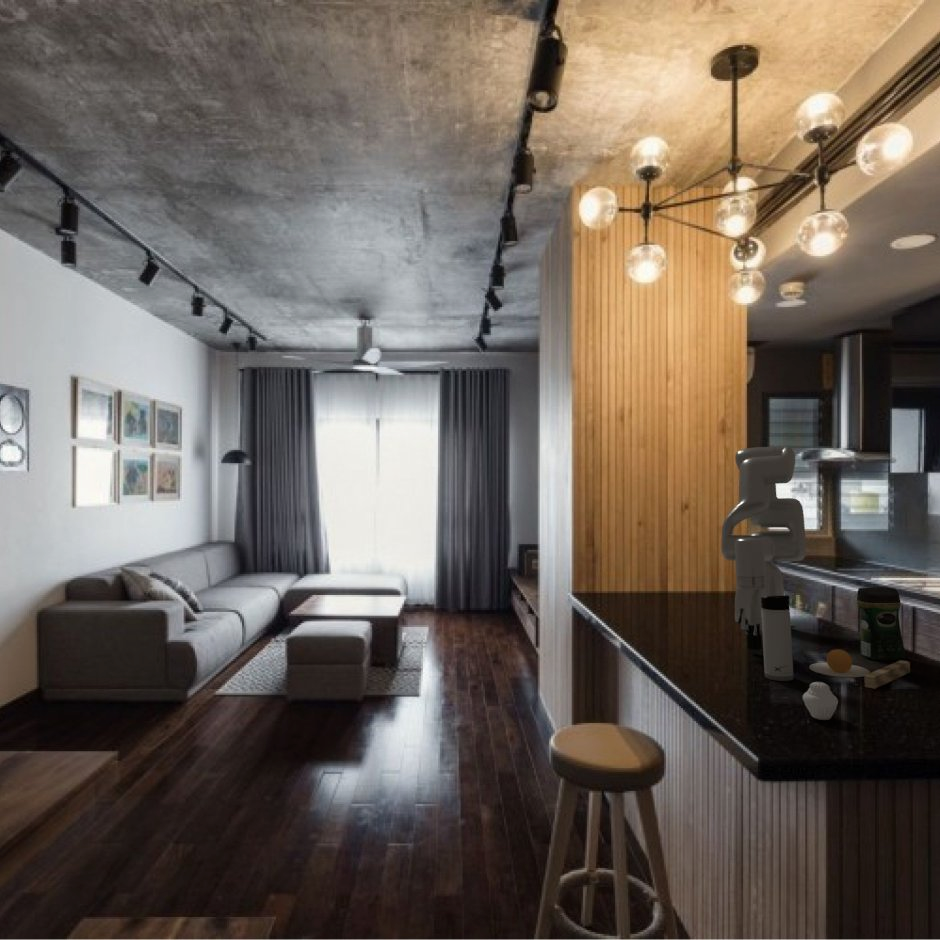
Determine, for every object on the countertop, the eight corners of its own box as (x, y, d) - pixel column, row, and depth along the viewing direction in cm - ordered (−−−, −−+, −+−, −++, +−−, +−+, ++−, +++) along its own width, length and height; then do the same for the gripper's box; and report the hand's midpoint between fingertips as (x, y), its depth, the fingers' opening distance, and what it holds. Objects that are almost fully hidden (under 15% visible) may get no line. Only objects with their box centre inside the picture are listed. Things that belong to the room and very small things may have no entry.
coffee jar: (893, 654, 171) (889, 584, 172) (910, 661, 164) (905, 589, 164) (855, 654, 173) (851, 585, 173) (870, 661, 165) (865, 589, 166)
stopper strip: (901, 670, 156) (900, 660, 156) (910, 672, 154) (909, 661, 154) (864, 686, 144) (864, 675, 144) (874, 688, 142) (873, 677, 142)
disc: (824, 660, 167) (824, 659, 167) (879, 670, 156) (879, 669, 156) (799, 669, 159) (799, 668, 159) (855, 680, 149) (855, 679, 149)
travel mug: (783, 683, 148) (778, 597, 149) (759, 676, 154) (754, 594, 155) (800, 679, 151) (796, 594, 152) (776, 672, 157) (771, 591, 158)
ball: (852, 646, 156) (860, 669, 154) (832, 648, 160) (839, 671, 159) (839, 650, 153) (846, 673, 152) (818, 652, 158) (825, 674, 156)
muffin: (811, 710, 130) (809, 675, 130) (843, 717, 125) (841, 681, 126) (798, 717, 126) (796, 681, 126) (832, 725, 121) (829, 688, 122)
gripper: (753, 578, 184) (756, 642, 183) (723, 583, 175) (726, 651, 174) (778, 580, 178) (782, 646, 177) (749, 586, 169) (752, 656, 168)
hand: (754, 648), depth 176 cm, fingers closed
